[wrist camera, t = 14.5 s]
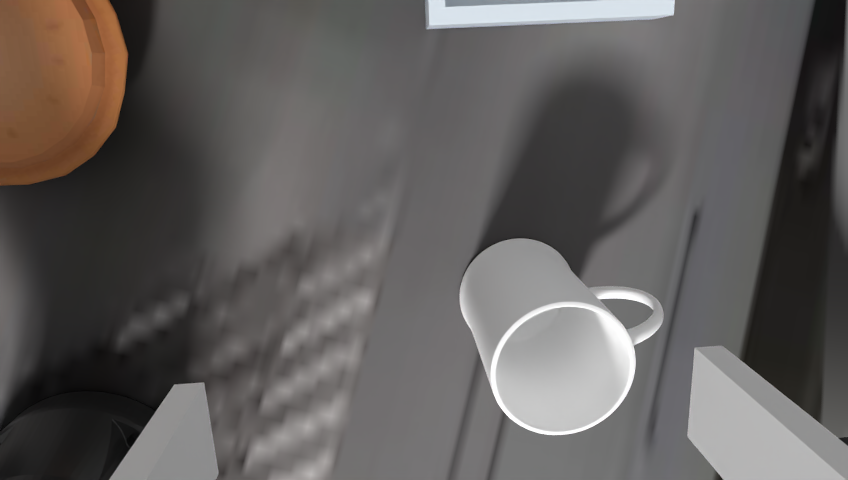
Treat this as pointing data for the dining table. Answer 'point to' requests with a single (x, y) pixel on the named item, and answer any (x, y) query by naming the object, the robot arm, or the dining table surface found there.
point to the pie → (57, 85)
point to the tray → (539, 12)
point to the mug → (550, 337)
